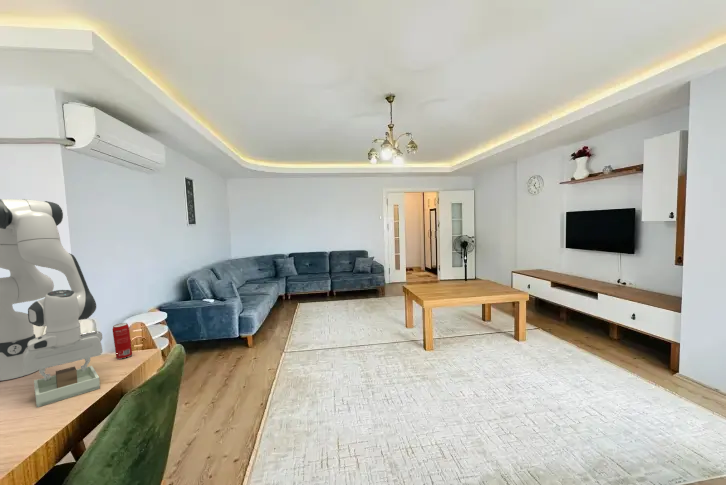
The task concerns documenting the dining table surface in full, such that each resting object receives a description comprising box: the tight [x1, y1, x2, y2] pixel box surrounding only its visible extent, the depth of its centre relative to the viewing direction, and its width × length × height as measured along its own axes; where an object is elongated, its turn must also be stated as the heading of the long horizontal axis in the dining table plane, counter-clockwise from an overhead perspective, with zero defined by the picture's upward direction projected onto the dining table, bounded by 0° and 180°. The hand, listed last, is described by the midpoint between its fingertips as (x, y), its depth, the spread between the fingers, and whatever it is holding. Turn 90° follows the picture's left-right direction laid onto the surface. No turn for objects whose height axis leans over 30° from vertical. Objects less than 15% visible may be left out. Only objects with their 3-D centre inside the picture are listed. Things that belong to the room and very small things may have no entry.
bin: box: [33, 365, 101, 408], centre depth 111 cm, size 16×16×4 cm
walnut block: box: [55, 366, 77, 388], centre depth 111 cm, size 5×5×6 cm
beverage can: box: [112, 322, 133, 360], centre depth 140 cm, size 6×6×15 cm
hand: (66, 375), depth 111 cm, fingers open, 8 cm apart
